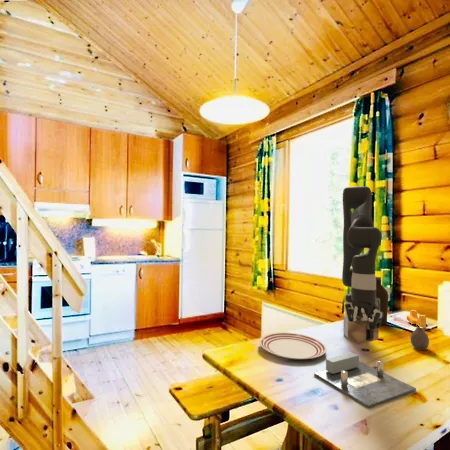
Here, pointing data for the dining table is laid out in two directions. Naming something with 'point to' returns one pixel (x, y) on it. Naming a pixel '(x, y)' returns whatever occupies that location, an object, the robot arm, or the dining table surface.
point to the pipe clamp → (417, 319)
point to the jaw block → (359, 332)
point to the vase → (419, 339)
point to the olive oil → (381, 300)
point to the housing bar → (342, 363)
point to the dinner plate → (293, 346)
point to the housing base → (366, 384)
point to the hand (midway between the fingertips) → (363, 337)
